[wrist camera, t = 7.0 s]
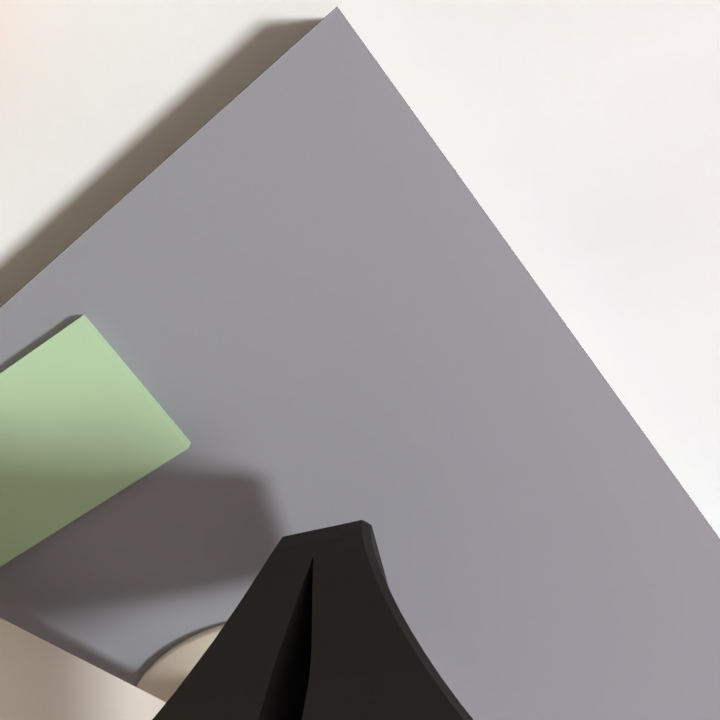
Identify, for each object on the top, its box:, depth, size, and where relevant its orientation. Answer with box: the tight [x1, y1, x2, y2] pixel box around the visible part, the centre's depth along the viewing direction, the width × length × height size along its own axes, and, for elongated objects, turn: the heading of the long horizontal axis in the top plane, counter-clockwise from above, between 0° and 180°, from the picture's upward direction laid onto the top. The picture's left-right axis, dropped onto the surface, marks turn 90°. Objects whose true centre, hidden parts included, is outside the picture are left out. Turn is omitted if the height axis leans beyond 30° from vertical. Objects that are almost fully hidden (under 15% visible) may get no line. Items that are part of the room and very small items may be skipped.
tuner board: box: [0, 7, 720, 720], centre depth 13 cm, size 16×16×1 cm
